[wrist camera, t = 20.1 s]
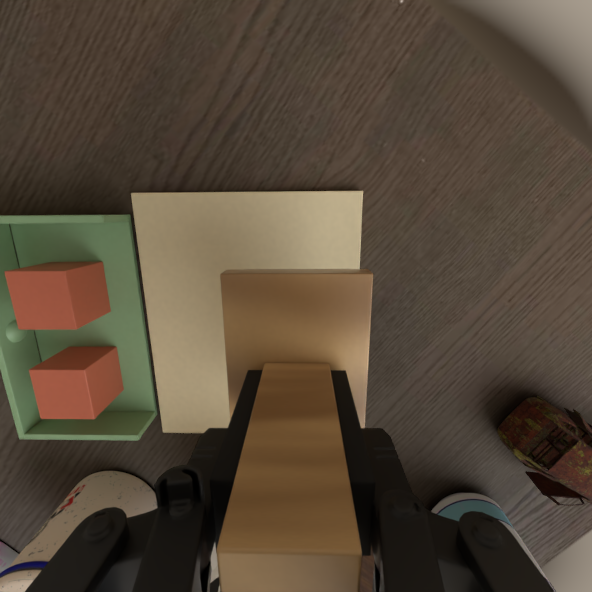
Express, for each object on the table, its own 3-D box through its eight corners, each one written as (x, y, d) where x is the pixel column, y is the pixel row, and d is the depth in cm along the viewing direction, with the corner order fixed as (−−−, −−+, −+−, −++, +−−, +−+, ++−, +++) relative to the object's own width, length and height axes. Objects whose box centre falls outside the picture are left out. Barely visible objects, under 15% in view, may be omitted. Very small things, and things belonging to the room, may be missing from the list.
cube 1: (68, 346, 26) (28, 369, 22) (117, 346, 26) (84, 369, 22) (77, 389, 27) (40, 419, 23) (124, 389, 27) (94, 419, 23)
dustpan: (130, 214, 24) (102, 214, 20) (157, 413, 28) (138, 440, 25) (-85, 216, 24) (-147, 216, 21) (-26, 412, 28) (-69, 438, 25)
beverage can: (510, 495, 29) (645, 680, 18) (476, 548, 31) (578, 749, 20) (441, 474, 29) (533, 650, 17) (410, 530, 31) (475, 723, 19)
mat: (134, 193, 23) (130, 192, 23) (361, 191, 23) (363, 190, 22) (165, 428, 28) (162, 433, 28) (351, 430, 28) (352, 434, 27)
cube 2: (51, 261, 24) (3, 271, 20) (102, 261, 24) (64, 270, 20) (61, 311, 25) (18, 329, 21) (111, 311, 25) (76, 329, 21)
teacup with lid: (78, 454, 29) (-63, 606, 18) (174, 481, 30) (96, 645, 19) (62, 548, 32) (-67, 728, 21) (149, 570, 33) (69, 758, 22)
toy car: (472, 437, 28) (506, 483, 23) (528, 377, 26) (577, 414, 22) (572, 499, 29) (623, 554, 25) (631, 446, 28) (699, 494, 23)
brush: (235, 261, 18) (94, 365, 6) (359, 261, 18) (481, 367, 6) (245, 442, 21) (167, 757, 9) (352, 443, 21) (420, 765, 9)
